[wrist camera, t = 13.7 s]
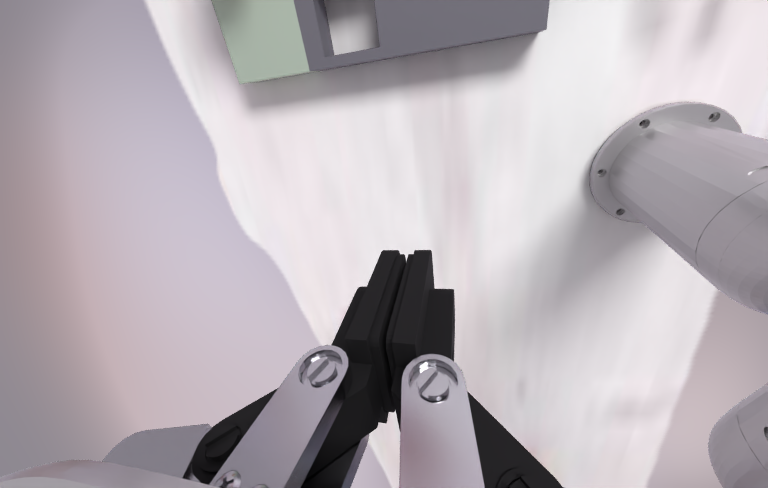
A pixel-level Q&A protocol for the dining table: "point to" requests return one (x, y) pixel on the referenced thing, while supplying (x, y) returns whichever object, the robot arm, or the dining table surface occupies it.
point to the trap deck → (394, 21)
